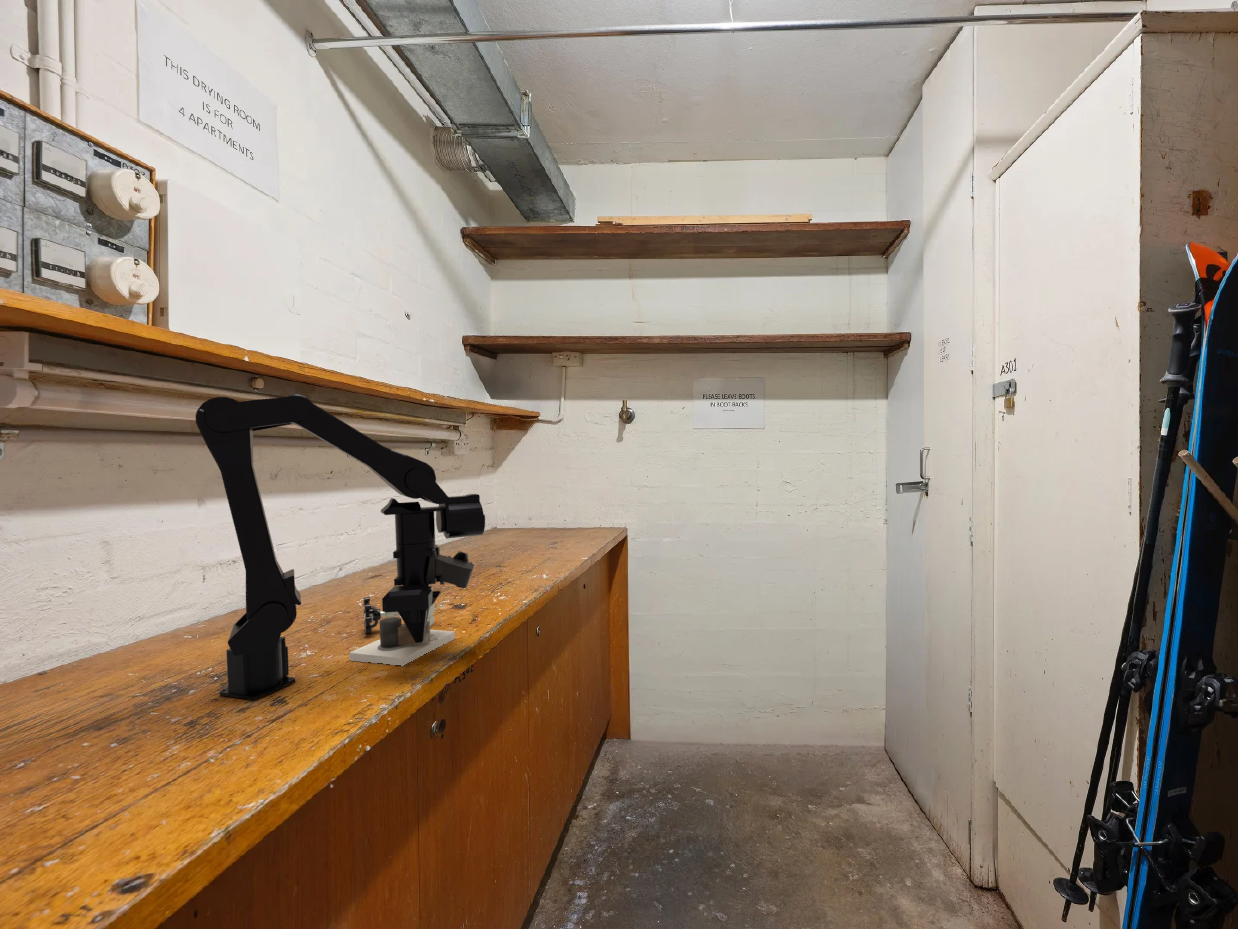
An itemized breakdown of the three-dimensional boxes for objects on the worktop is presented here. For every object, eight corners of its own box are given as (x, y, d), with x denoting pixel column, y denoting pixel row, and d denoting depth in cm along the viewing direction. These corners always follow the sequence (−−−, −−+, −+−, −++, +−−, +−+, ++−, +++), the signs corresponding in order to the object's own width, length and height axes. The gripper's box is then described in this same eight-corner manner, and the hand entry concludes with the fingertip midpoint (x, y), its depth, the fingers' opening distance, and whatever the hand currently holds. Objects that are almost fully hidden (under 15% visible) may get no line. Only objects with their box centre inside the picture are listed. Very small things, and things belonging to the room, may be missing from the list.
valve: (432, 619, 109) (364, 630, 103) (431, 585, 109) (362, 594, 103) (438, 628, 103) (366, 640, 97) (437, 592, 103) (364, 602, 97)
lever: (378, 648, 88) (377, 623, 88) (382, 641, 91) (381, 618, 91) (428, 643, 89) (427, 619, 89) (431, 637, 92) (430, 614, 92)
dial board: (403, 666, 84) (402, 657, 84) (349, 660, 87) (349, 651, 87) (455, 638, 96) (454, 630, 96) (406, 634, 100) (406, 626, 99)
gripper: (462, 548, 79) (466, 658, 80) (474, 531, 98) (477, 620, 98) (379, 553, 78) (383, 666, 78) (407, 534, 96) (410, 625, 96)
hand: (419, 642), depth 88 cm, fingers closed
